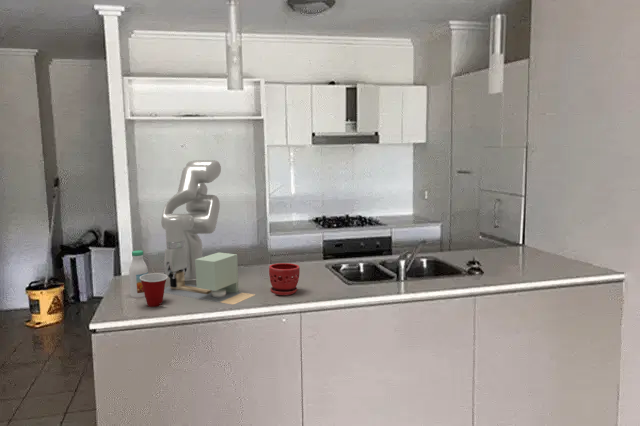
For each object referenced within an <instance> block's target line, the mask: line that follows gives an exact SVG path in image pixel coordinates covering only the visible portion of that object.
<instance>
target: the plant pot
mask: <svg viewBox="0 0 640 426" xmlns="http://www.w3.org/2000/svg"><path fill="white" fill-rule="evenodd" d="M300 271H301V270H300V266H299V264H296V263H290V262H289V263H287V262H285V263H284V262H283V263H280V262H279V263H273V264H270V265H269V267H268V275H269V282H270V285H271V286H272V287H270V288H269V289H270V292H271V293H273V294H275V296H291V295H293V294H295V293H297V292H298V287H297V285H298V283H299V280H300Z"/></svg>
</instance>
